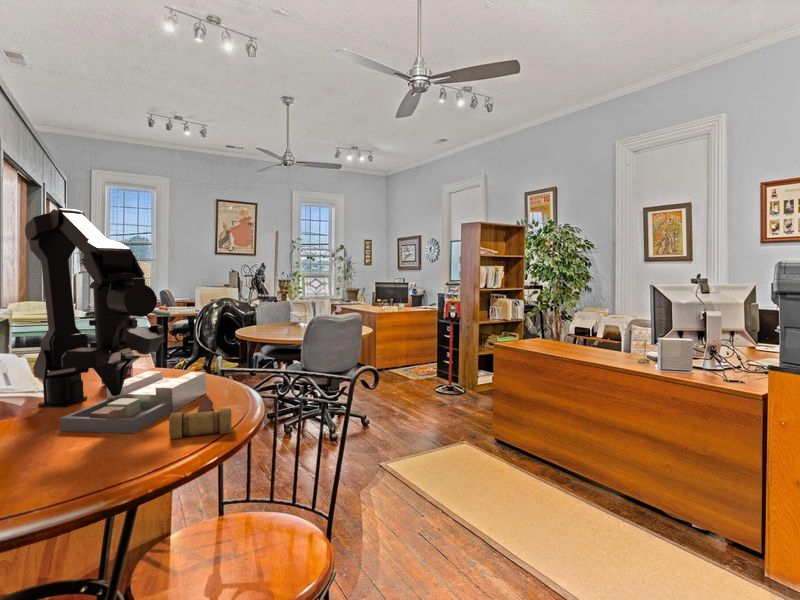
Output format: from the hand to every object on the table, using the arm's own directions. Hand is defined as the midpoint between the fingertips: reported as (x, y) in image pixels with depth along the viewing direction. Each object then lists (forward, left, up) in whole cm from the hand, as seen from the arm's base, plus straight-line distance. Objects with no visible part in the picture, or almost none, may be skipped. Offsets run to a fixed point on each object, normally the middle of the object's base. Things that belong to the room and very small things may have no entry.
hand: (116, 395), depth 89 cm
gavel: (+15, +3, -6) cm, 17 cm away
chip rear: (-1, +3, -5) cm, 6 cm away
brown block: (0, -2, -2) cm, 3 cm away
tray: (0, +1, -5) cm, 5 cm away
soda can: (-19, +27, -6) cm, 34 cm away
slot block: (0, +14, -5) cm, 15 cm away
